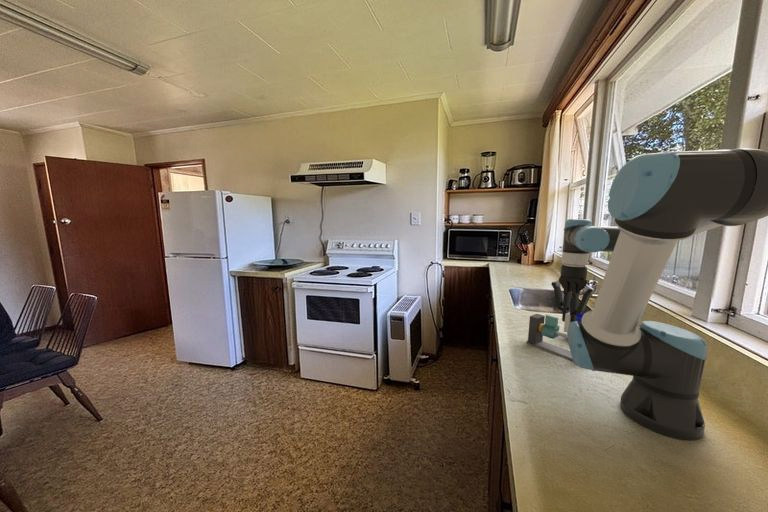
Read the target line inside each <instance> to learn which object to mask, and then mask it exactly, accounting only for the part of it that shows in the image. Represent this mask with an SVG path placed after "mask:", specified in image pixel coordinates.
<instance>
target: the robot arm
mask: <svg viewBox="0 0 768 512" xmlns="http://www.w3.org/2000/svg"><path fill="white" fill-rule="evenodd" d="M608 197H609V199H608V200H607V208H608V213H609V215H610V216H611V217H612V218H614V220H613V222H614V224H615V226H606V225H605V226H601V225H593V221H592V220H591V219H586V218H585V219H583V218H582V219H581V218H577V219H573V218H570V219H567V220H565V223H564V228H563V231H564V232H563V243H562V253H561V263H562V264H561V266H560V277H559V278H558V280H555V281H552V282H551V283H550V284H551V287H552V288H553V291H554V292H553V293H554V299H555V304H556V309H557V310H558V311H561V313H562V315H561V317H562V318H561V321H562V322H564V325H563V326H564V327H563V333H566V334H567V333H568V338H567V339H568V346H569V351H570V352H571V356H572V359H573V361H572V362H573V363H574V364H575V365H576V366H577V367H579V368H580V369H584V370H590V371H592V372H603V373H610V374H618V375H625V376H632V379H631V381H630V382H629V384H628V385H627V386H626V388H625V389H624V391H623V392H622V394H621V396H620V403H619V405H620V408H621V410H622V411H623V412H624V413H625V415H626V416H628V418H630V419H631V420H633V421H634V422H636V423H638V424H639V425H641V426H642V427H644V428H646V429H648V430H650V431H652V432H656V433H658V434H660V435H663V436H667V437H670V438H674V439H677V440H678V439H679V440H687V441H695V440H699V439H701V438H703V436H704V433H705V428H706V423H705V419H704V416H703V412H702V409H701V404H700V402H699V398H700V397H699V396H700V390H701V385H702V381H703V374H704V369H705V364H706V361H707V360H708V357H707V355H708V354H707V351H708V345H707V342H706V340H704V339H703V337H701V336H699V335H698V334H696V333H694V332H692V331H689V330H687V329H684V328H682V327H678V326H675V325H671V324H668V323H663V322H660V321H653V320H643V321H641V322H640V323H639V321H640V320H641V318H642V316H643V314H644V312H645V310H646V308H647V305H648V303H649V302H650V299H651V297H652V295H653V293H654V291H655V289H656V287H657V284H658V283H659V280H660V278H661V277H662V274H663V272H664V270H665V268H666V266H667V264H668V262H669V259H670V258H671V255H672V253H673V251H674V250H675V247H676V245H677V243H678V242H679V241H683V240H687V239H689V238H691V237H693V236H695V235H698V234H701V233H705V232H706V231H710V230H713V229H716V228H719V227H721V226H723V227H737V226H742V225H745V224H749V223H752V222H755V221H758V220H760V219H763V218H766V217H768V151H767V150H764V149H759V148H750V147H749V148H746V147H745V148H730V149H712V150H711V149H709V150H707V149H706V150H685V151H683V150H680V151H671V150H665V151H660V152H654V153H653V152H651V153H644V154H643V153H642V154H639V155H637V156H634V157H631V158H630V159H629V160H628V161H627V162H625V163H624V164H623V166H622V167H620V169H619V170H618V171H617V174H616V175H615V176H614V179H613V181H612V184H611V185H610V188H609V192H608ZM599 252H605V253H609V252H610V253H611V255H610V256H611V257H610V258H609V259H610V260H609V263H608V264H607V268H606V271H605V274H604V277H603V279H602V282H601V285H600V288H599V291H598V293H597V296H596V300H595V302H594V304H593V307H592V309H590V310H587V311H586V312H585V310H586V306H587V304H588V303H589V300H590V297H591V296H592V294H593V293H594V292H595V291H596V289H595V288H594V287H591V286H590V285H588V280H587V277H588V264H589V258H590V257H589V256H590V253H599ZM561 287H562V288H561ZM562 289H563V290H562ZM582 290H584V291H583V292H584V293H583V295H582V297H581V300H580V302H579V299H580V294H581V291H582ZM562 291H563V292H562ZM562 293H563V294H562ZM582 313H585V314H584V315H583V316H582V319H581V322H578V321H576V315H580V314H582ZM638 325H639V326H638Z"/></svg>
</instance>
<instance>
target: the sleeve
mask: <svg viewBox="0 0 768 512" xmlns="http://www.w3.org/2000/svg"><path fill="white" fill-rule="evenodd" d="M555 330H556V331H559V332H560V325H559V317H557V316H553V315H550V314H545V319H544V325H543V328H542V335H543V337H546V338H549V339H551V340H554V339H556V338H558V337H559V335H556V334H555Z"/></svg>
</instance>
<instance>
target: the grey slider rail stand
mask: <svg viewBox="0 0 768 512" xmlns="http://www.w3.org/2000/svg"><path fill="white" fill-rule="evenodd" d="M545 318H546V315H542V314H539V313H534V314H532V315H530V316H529V323H528V337H527V340H526V341H525V342H526V344H529V345H531V346H534V347H536V348H539V349H541V350H543V351H546V352H548V353H551V354H554V355H556V356H559V357H562V358H564V359H566V360H569V361H572V362H574V361H573V359H572V356H571V352H570V350H568V349H565V348H562V347H560V346H556V345H554V344H552V343H549V342H546V341H543V339H544V336H543V335H542V328H543V325H544V324H545ZM555 334H556V335H559V336H560V337H562V338H566V339H568V334H567V333H566V332H562V331H560V330H559V331H556V330H555ZM559 336H558V337H559Z"/></svg>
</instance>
